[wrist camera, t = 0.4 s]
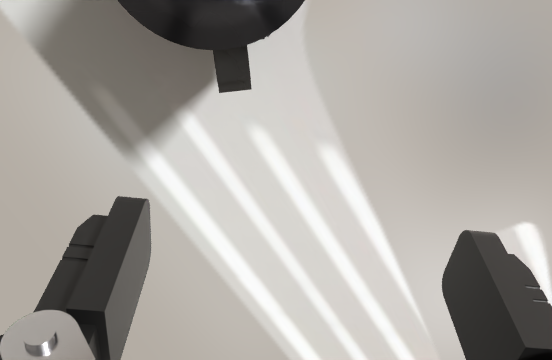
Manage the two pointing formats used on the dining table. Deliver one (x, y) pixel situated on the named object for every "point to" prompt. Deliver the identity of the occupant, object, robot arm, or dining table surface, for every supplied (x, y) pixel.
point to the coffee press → (232, 69)
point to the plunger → (212, 20)
